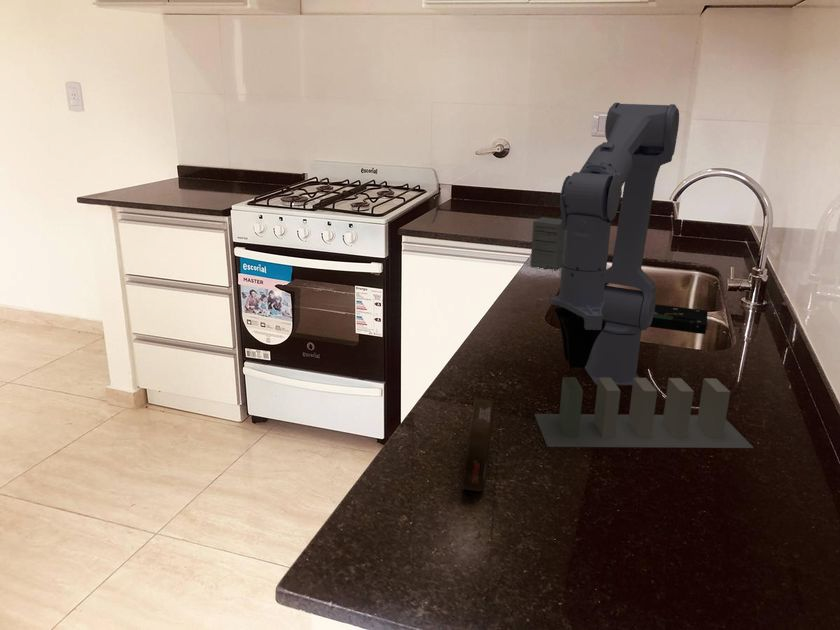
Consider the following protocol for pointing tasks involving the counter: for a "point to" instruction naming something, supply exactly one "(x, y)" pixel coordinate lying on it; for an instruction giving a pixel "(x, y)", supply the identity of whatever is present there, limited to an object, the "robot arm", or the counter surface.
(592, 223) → the robot arm
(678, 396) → the domino
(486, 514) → the counter surface
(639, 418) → the domino
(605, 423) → the domino
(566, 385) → the domino
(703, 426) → the domino
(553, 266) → the grey drawer cabinet
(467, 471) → the dark translucent bar
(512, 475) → the counter surface
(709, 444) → the mat
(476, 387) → the counter surface
